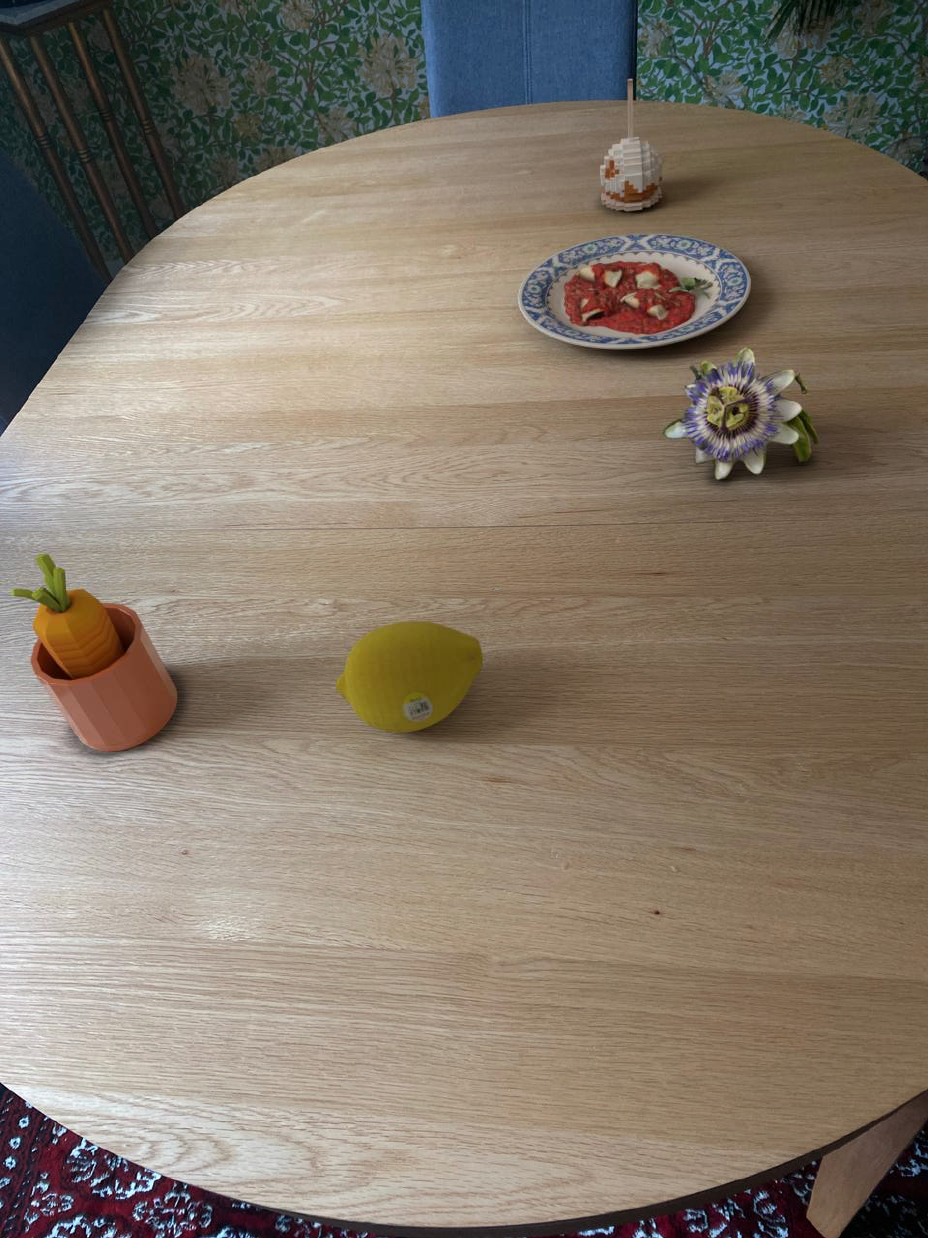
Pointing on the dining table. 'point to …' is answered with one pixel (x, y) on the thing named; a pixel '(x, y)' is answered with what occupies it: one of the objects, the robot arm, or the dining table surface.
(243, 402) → the dining table surface
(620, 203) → the decorative ornament
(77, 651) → the carrot
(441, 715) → the lemon
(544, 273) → the ceramic plate
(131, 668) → the pot
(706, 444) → the passion flower
